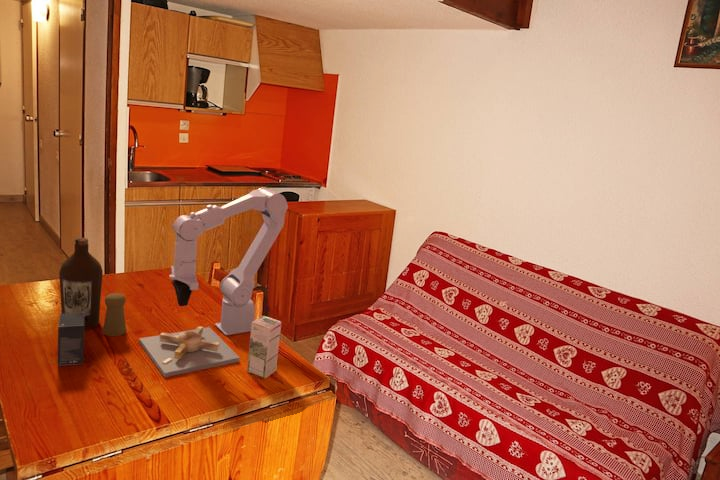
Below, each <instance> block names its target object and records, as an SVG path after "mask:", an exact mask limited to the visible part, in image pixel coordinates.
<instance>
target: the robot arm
mask: <svg viewBox="0 0 720 480" xmlns="http://www.w3.org/2000/svg"><path fill="white" fill-rule="evenodd" d="M288 209H289V206H288V202H287V199H286V197H285V196H284V195H283V194H282V193H279V192H276V191H273V190H272V189H271V188H268V187H265V186H264V187H260V188H258V189H253V190H252V191H251V192H249V193H247V194H246V195H243V196H240V197H239V198H237V199H235V200H232V201H230V202H229V203H226V204H224V205H222V206H219V205H216V204H214V205H212V204H208V205H206V206H205V208H203V209H201V210H199V211H196V212H194V211H192V212H190V213H189V215H186V214H184V215H182V214H181V215H180V216H178V217H176V219H175V220H174V223H173V224H172V226H171V227H172V230H173V231H174V232H175V242H174V260H173V265H171V266H170V273H171V274H169V275H168V277H169V279H170V280H171V284H172V285H173V289H174V292H175V295H176V302H177V305H178V306H179V307H185V306H187V305H188V304H189V302H190V297H191V295H192V293H193V291H197V290H199V282H198V280H197V274H196V266H197V253H198V252H197V250H198V249H197V248H198V239H199V237H201V235H202V233H204V232H208V231H209V230H211V229H214V228H216V227H219V226H221V225H223V224H224V223H225V220H226V219H227V218H229V217H232V216H235V215H238V214H242V213H244V212H246V211H247V212H248V211H249V210H254V211H259V212H260V213H261V217H262V219H263V223H262V224H261V227H260V229H259V231H258V233H257V234H256V235H255V237H254V239H253V241H252V242H251V244H250V246H249V248H248V250H247V251H246V253H245V255H244V256H243V258H242V260H241V262H240V263H239V265H238V266H237V267H236V268H233V269H232V270H230V272H229V274H228V275H226V276H225V277H224V278H223V279H222V280H221V281H220V285H219V286H220V287H219V288H220V292H221V293H222V294H223V295H222V301H221V302H222V304H221V313H220V315H221V316H220V322H216V323H215V324H214V326H215V327H216V328H218V329H219V331H221V333H223V334H224V335H225V336H232V335H237V334H242V333H248V332H251V325H252V322H253V321H254V320H255V316H256V315H255V314H256V307H255V303H254V301H253V300H252V294H253V290H254V288H255V284H256V283H255V276H256V274H257V272H258V270H259V269H260V267H261V265H262V263H263V262H264V260H265V258H267V257H266V256H267V255H268V253H269V251H270V250H271V248H272V246H273V244H274V243H275V241H276V240H277V238H278V236H279V234H280V232H281V231H282V228H283V227H284V225H285V218H286V212H287V210H288Z"/></svg>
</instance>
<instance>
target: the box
mask: <svg viewBox="0 0 720 480" xmlns="http://www.w3.org/2000/svg"><path fill="white" fill-rule="evenodd" d="M84 316H85V315H84V313H66V314H61V313H60V314H59V320H58V325H57V328H58V329H57V366H58V367H60V366H61V367H62V366H74V365H75V366H77V365H83V364H84V355H85V354H84V353H85V352H84V351H85V350H84V349H85V330H84Z"/></svg>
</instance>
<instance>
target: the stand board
mask: <svg viewBox="0 0 720 480" xmlns="http://www.w3.org/2000/svg"><path fill="white" fill-rule="evenodd" d="M194 330H195V329H191V330H189V329H188V331H194ZM186 331H187V330H184V331H178V332H176V331H175V332H172V333H169V334H174V335H179V334H180V333H182V332H186ZM201 336H202V337H201V339H203V340H208V341H214V342H220V343H219V350H218V351H212V350H206V349H199V350H198V351H195V352H186V353H185V354H184V355H183V356H182V357H181V358H180V359H175V358H174V354H175V350H176V349H177V348H178V345H177V344H172V343H166V342H160V334H159V335H152V336H146V337H140V338H139V340H138V341H139V342H138V343H139V344H140V346H141V347H142V349H143V350H144V351H145V353H146V354H147V355H148V357H149V359H150V360H151V361H152V362H153V364H154V365H155V367H157V369H158V371H159V372H160V373H161V375H162V376H163V378H168V377H173V376H178V375H181V374H186V373H187V374H188V373H192V372H197V371H201V370H206V369H212V368H215V367H221V366H225V365H229V364H230V365H231V364H234V363H238V362H240V356H239V355H238V354H237V353H236V352H235V351H234V350H233V349H232V348H231V347H230V346H229V345H228V344H227V343H226V342H225V341H224V340H223V339H222V338H221V337H220V336H219V335H218V334H217V333H216V332H215V331H214V330H213V329H212V328H211V327H210V326H207V327H203V334H202V335H201Z"/></svg>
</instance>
